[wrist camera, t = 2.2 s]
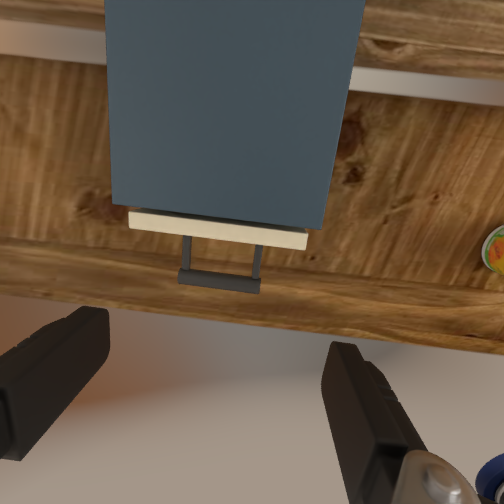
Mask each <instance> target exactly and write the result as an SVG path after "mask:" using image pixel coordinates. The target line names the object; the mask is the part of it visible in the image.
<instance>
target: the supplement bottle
mask: <svg viewBox="0 0 504 504" xmlns="http://www.w3.org/2000/svg"><path fill="white" fill-rule="evenodd" d="M482 259H483V261H484V263H485V264H486V266H487V267H488V268H490V269H491V270H493V271H495V272H497V273H499V274H501V275H504V225H502V226H500V227H498V228H497V229H495V230H494V231H493V232H492V233H491V234H490V235H489V236H488V237H487V238H486V240H485V242H484V244H483V247H482Z"/></svg>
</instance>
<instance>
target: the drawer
mask: <svg viewBox="0 0 504 504" xmlns="http://www.w3.org/2000/svg"><path fill="white" fill-rule="evenodd" d="M129 228H132V229H140V230H148V231H156V232H164V233H172V234H180V235H183V250H182V268H180V270H179V272H178V283H179V284H185V285H193V286H200V287H208V288H215V289H223V290H230V291H238V292H245V293H253V294H259V291H260V283H261V278H259V272H260V264H261V257H262V249H263V245H266V246H274V247H282V248H290V249H297V250H305V249H306V244H307V238H308V233H307V232H306V230H305V229H304V228H301V227H293V226H285V225H277V224H269V223H261V222H253V221H245V220H237V219H229V218H221V217H213V216H205V215H197V214H189V213H181V212H173V211H165V210H157V209H149V208H141V209H137V210H133V211H129ZM192 236H195V237H203V238H211V239H219V240H227V241H235V242H242V243H250V244H256V246H255V254H254V262H253V270H252V277H249V276H242V275H234V274H226V273H219V272H211V271H203V270H196V269H190V263H191V242H192Z"/></svg>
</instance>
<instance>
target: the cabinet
mask: <svg viewBox="0 0 504 504" xmlns="http://www.w3.org/2000/svg"><path fill="white" fill-rule="evenodd" d="M365 1H366V0H104V3H105V29H106V55H107V81H108V107H109V133H110V159H111V185H112V204H117V205H125V206H133V207H141V208H149V209H157V210H165V211H173V212H181V213H189V214H197V215H205V216H213V217H221V218H229V219H237V220H245V221H253V222H261V223H269V224H277V225H285V226H293V227H301V228H309V229H317V230H321V228H322V223H323V218H324V213H325V208H326V203H327V197H328V192H329V187H330V182H331V177H332V172H333V166H334V161H335V156H336V151H337V146H338V141H339V135H340V130H341V125H342V120H343V115H344V110H345V104H346V99H347V94H348V89H349V84H350V79H351V73H352V68H353V63H354V58H355V53H356V48H357V43H358V37H359V32H360V27H361V22H362V17H363V12H364V6H365Z"/></svg>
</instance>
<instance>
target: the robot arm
mask: <svg viewBox="0 0 504 504" xmlns="http://www.w3.org/2000/svg"><path fill="white" fill-rule="evenodd" d="M109 351H110V327H109V312H108V310H107V309H103V308H96V307H89V306H82V307H80V308H78V309H77V310H76V311H74V312H73V313H71V314H70V315H69V316H67V317H66V318H62V319H59V320H57V321H54V322H52V323H50V324H48V325H45V326H43V327H42V328H41V329H39V330H38V331H36V332H35V333H33V334H32V335H31V336H30V338H26V339H25V340H23V341H22V342H20V343H19V344H18V345H17V347H13V348H12V349H10V350H9V351H7V352H6V353H4V354H3V355H1V356H0V459H9V460H15V461H21V460H22V459H23V458H24V457H25V456H26V454H27V453H28V452H29V451H30V450H31V449H32V447H33V446H34V445H35V444H36V443H37V441H38V440H39V439H40V438H41V437H42V436H43V434H44V433H45V432H46V431H47V430H48V429H49V427H50V426H51V425H52V424H53V423H54V421H55V420H56V419H57V418H58V417H59V416H60V415H61V413H62V412H63V411H64V410H65V409H66V408H67V406H68V405H69V404H70V403H71V402H72V400H73V399H74V398H75V397H76V396H77V395H78V393H79V392H80V391H81V390H82V389H83V387H84V386H85V385H86V384H87V383H88V382H89V380H90V379H91V378H92V377H93V376H94V374H96V372H97V371H98V370H99V369H100V368H101V366H102V365H103V364H104V362H105V361H106V359H107V357H108V354H109ZM321 389H322V390H321V391H322V397H323V401H324V405H325V409H326V413H327V417H328V421H329V424H330V429H331V433H332V437H333V441H334V444H335V449H336V453H337V456H338V461H339V465H340V468H341V472H342V476H343V480H344V484H345V488H346V492H347V496H348V500H349V504H504V479H503V480H502V481H501V482H500V483H499V484H498V485H497V487H496V488H495V491H494V501H492V500H490V499H487V498H485V497H483V496H481V495H479V494H476V492H475V491H474V489H473V487H472V486H471V485H470V483H469V482H468V481H467V480H466V478H465V477H464V476H463V475H462V474H461V473H460V472H459V471H458V470H457V469H456V468H454V467H453V466H452V465H451V464H450V463H448V462H447V461H445V460H444V459H442V458H440V457H439V456H437V455H435V454H433V453H430V452H428V450H427V448H426V446H425V445H424V443H423V441H422V440H421V438H420V436H419V434H418V433H417V431H416V429H415V428H414V426H413V424H412V423H411V421H410V419H409V417H408V416H407V414H406V412H405V410H404V409H403V407H402V406H401V404H400V402H398V399H397V397H396V395H395V393H394V392H393V390H391V387H390V385H389V383H388V381H387V380H386V378H385V376H384V374H383V373H382V372H381V371H380V370H379V369H377V367H375V366H374V365H373V364H372V363H371V362H369V361H364V359H363V357H362V355H361V353H360V351H359V350H358V348H357V346H356V345H355V344H350V343H342V342H336V341H333V342H332V343H331V345H330V348H329V352H328V356H327V359H326V363H325V367H324V371H323V375H322V381H321Z"/></svg>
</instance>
